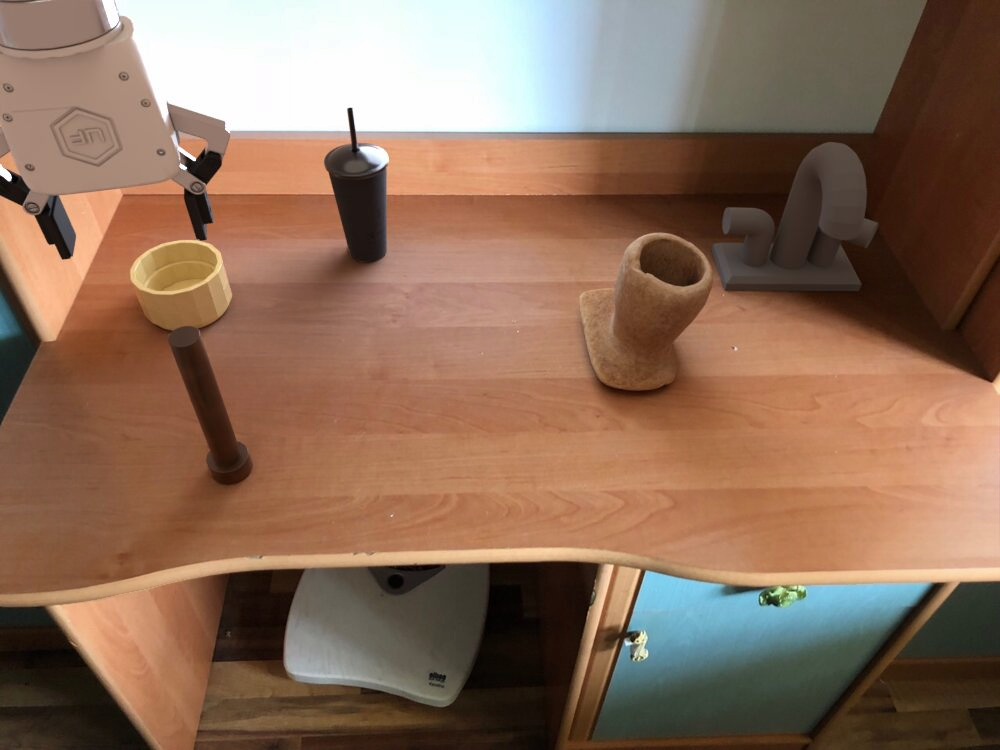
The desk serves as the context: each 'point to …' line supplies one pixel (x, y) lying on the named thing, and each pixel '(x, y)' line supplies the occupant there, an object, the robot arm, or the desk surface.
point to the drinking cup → (360, 194)
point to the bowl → (181, 284)
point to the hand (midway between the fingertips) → (137, 239)
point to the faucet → (802, 230)
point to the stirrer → (209, 407)
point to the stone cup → (645, 311)
